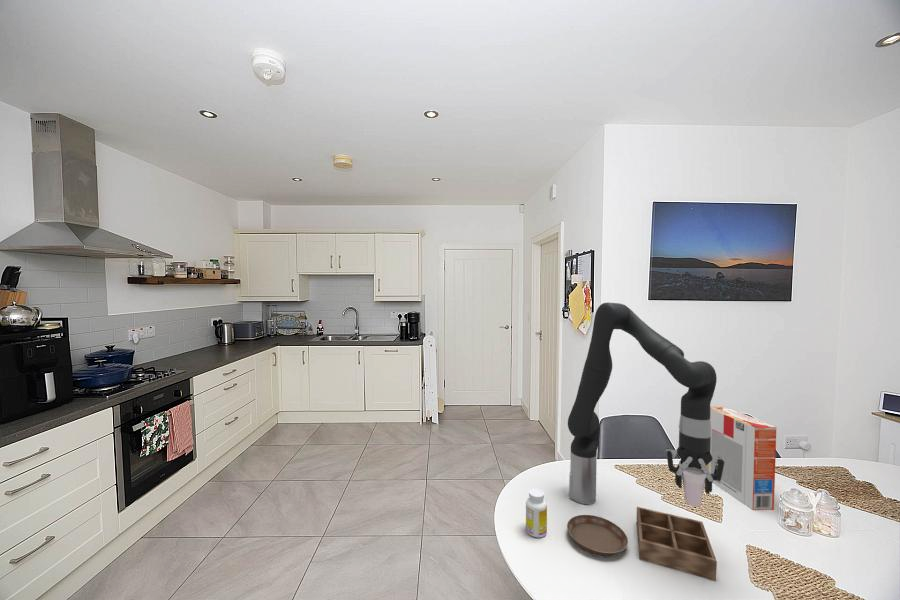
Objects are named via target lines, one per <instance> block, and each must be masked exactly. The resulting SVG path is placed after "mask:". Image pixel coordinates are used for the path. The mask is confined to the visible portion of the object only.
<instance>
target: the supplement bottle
mask: <svg viewBox="0 0 900 600" xmlns="http://www.w3.org/2000/svg"><path fill="white" fill-rule="evenodd" d="M544 498H545V493H544V491H543V490H541V489H537V488H533V489H530V490H529V491H528V498H527V499H526V501H525V531H526V533H527V534H528V535H529V536H530V537H532V538H533V537H534V538H544V537H545V536H546V535H547V533H548V532H547V531H548V508H547V507H548V503H547V501H546V500H545V499H544Z"/></svg>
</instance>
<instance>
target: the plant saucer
mask: <svg viewBox="0 0 900 600" xmlns="http://www.w3.org/2000/svg"><path fill="white" fill-rule="evenodd" d="M566 529H567V531H568V534H569V536H570V538H571V539H572V540H573V542H575V544H576V545H577V546H578V547H579V548H581V549H582V550H584V552H586V553H589V554H592V555H594V556H598V557H604V558H608V557H609V558H610V557H611V558H612V557H614V556H615V557H616V556H618V555H619V554H620V553H622V552H624V550H625V549H627V547H628V545H629V539H628V536H627V535H626V533H625V531H624V530H623V529H622V528H621V527H620V526H618V525H617V523H614V522H612V521H611V520H608V519H606V518H604V517H601V516H597V515H593V514H578V515H575V516H573V517H571V518H570V519H569V520H568V522H567V524H566Z"/></svg>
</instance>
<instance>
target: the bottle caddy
mask: <svg viewBox="0 0 900 600" xmlns="http://www.w3.org/2000/svg"><path fill="white" fill-rule="evenodd" d="M636 531H637V533H636V534H637V544H638V546H637V547H638V557H639V558H638V559H639V560H640V561H645V562H648V563H652V564H655V565H658V566H661V567H662V566H663V567H665V568H669V569H673V570H676V571H680V572H684V573H686V574H691V575H694V576H697V577H701V578H704V579H708V580H711V581H716V582H717V566H718V565H717V562H718V561H717V559H716V556H715V553H714V550H713V547H712V544H711V542H710V538H709V536H708V533H707V531H706V528H705V525H704V522H703V521H700V520H697V519H692V518H688V517H683V516H681V515H674V514H670V513H667V512H662V511H658V510H653V509H649V508H644V507H640V506H636Z"/></svg>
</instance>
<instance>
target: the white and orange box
mask: <svg viewBox="0 0 900 600" xmlns="http://www.w3.org/2000/svg"><path fill="white" fill-rule="evenodd" d="M710 423H711V449H710V453H711V455H712V456H714V457H721V458H722V459H723V461H724V467H723V472H722V477H721V480H720V481H717V480H714V481H713V482H712V485H715V486H717V487H718V488H719V489H721V490H722V491H723V492H725V493H727V494H728V495H729V496H731V497H733V498H734V499H735V500H737V501H738V502H739V503H741V504H742V505H744V506H746V507H747V508H748V509H750V510H751V511H771V510H772V511H774V510H775V491H776V490H775V487H776V485H775V484H776V458H777V457H776V456H777V455H776V453H777V450H776V449H777V426H774V425H772V424H769V423H767V422H765V421H762V420H760V419H757V418H755V417H752V416H750V415H746V414H744V413H741V412H739V411H736V410H734V409H731V408H729V407H727V406H723V405H722V406H710ZM706 466H707V468H708V470H709V472H710V474H714V470H715V464H714V462H713V460H712V461H711V462H710V463H709V464H707V465H706Z"/></svg>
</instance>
